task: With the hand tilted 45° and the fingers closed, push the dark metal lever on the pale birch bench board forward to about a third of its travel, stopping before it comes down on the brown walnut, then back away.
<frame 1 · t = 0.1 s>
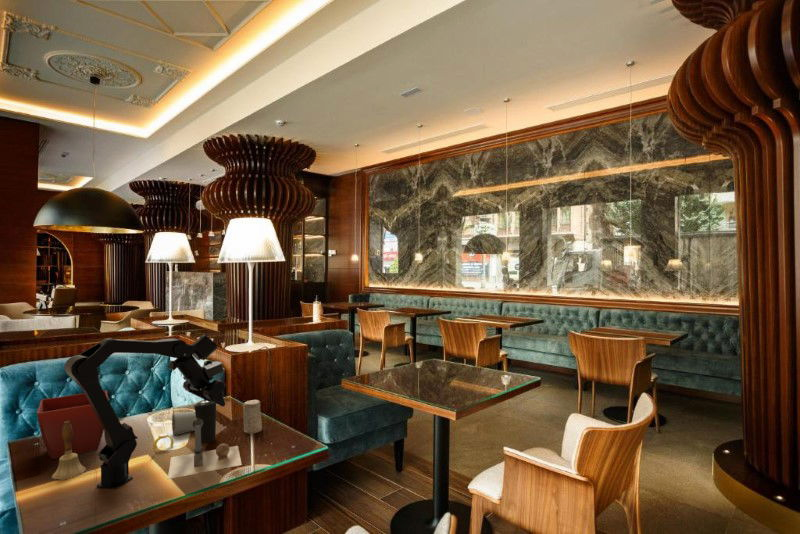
hand: (217, 403, 151), 15 cm above the table, tool tilted 35°, fingers open, 9 cm apart
hand bell: (69, 474, 134), on the table
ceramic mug: (183, 432, 167), on the table
lever: (197, 437, 136), point 9 cm above the table, hinge at 0.0°
plant pot: (75, 449, 152), on the table
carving: (252, 434, 162), on the table
drinking cup: (208, 443, 153), on the table, touching gripper
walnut: (222, 457, 139), point 1 cm above the table, touching bench board
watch: (163, 452, 148), on the table
bench board: (205, 465, 137), on the table
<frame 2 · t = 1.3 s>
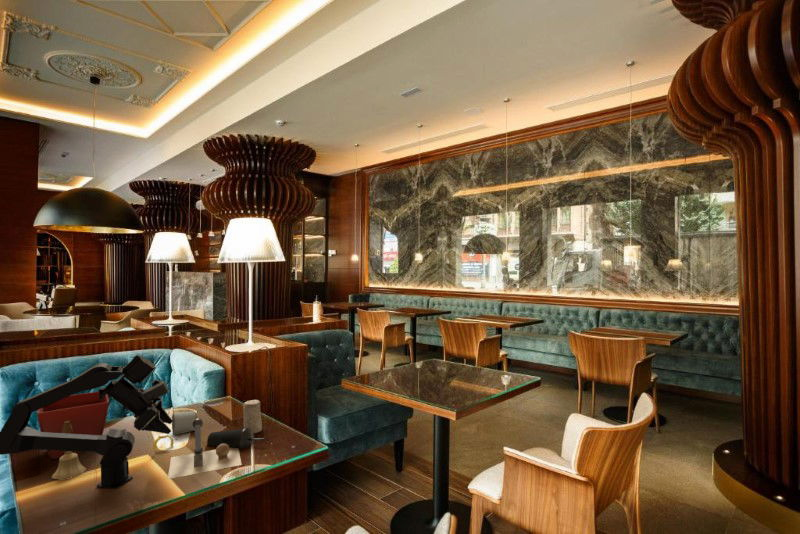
hand: (170, 427, 133), 14 cm above the table, tool tilted 45°, fingers open, 9 cm apart
drinking cup: (211, 439, 152), point 2 cm above the table, touching bench board
everything else where it was.
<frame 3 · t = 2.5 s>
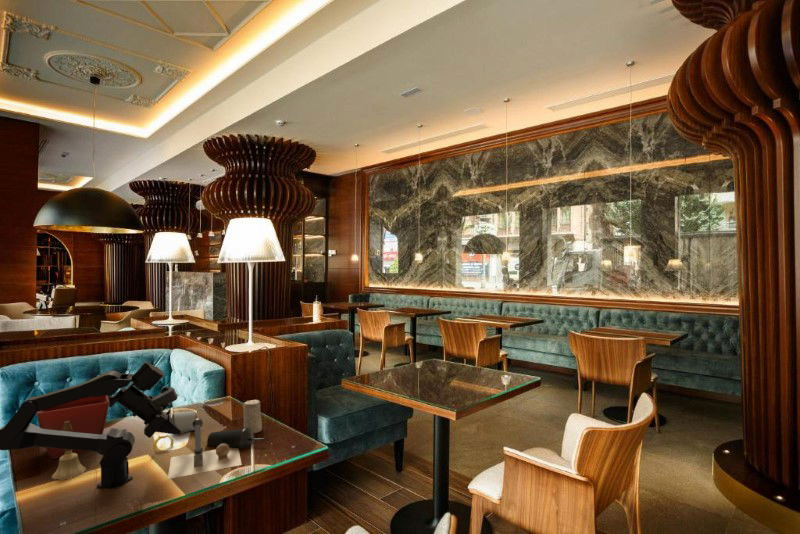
hand: (180, 433, 134), 11 cm above the table, tool tilted 45°, fingers closed
nothing on the table moved.
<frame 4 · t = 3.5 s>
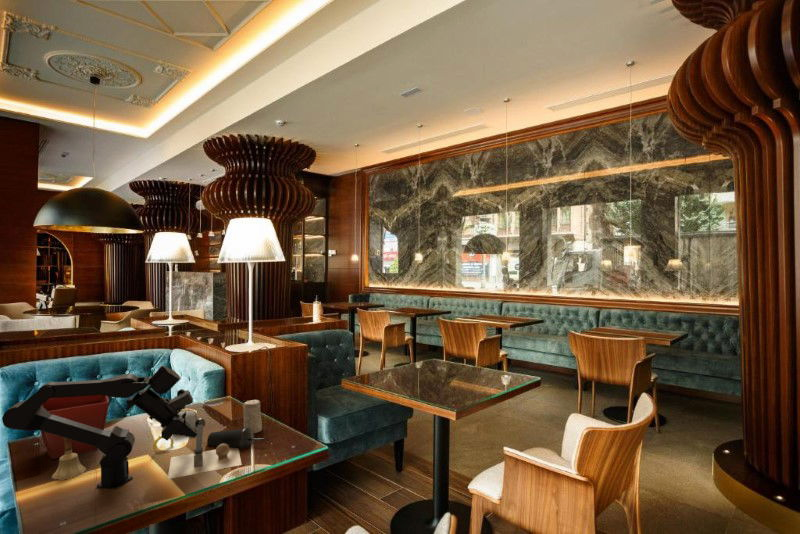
hand: (196, 436, 136), 10 cm above the table, tool tilted 45°, fingers closed, pressing on lever
lever: (199, 437, 136), point 9 cm above the table, hinge at 4.5°, touching gripper
everything else where it was.
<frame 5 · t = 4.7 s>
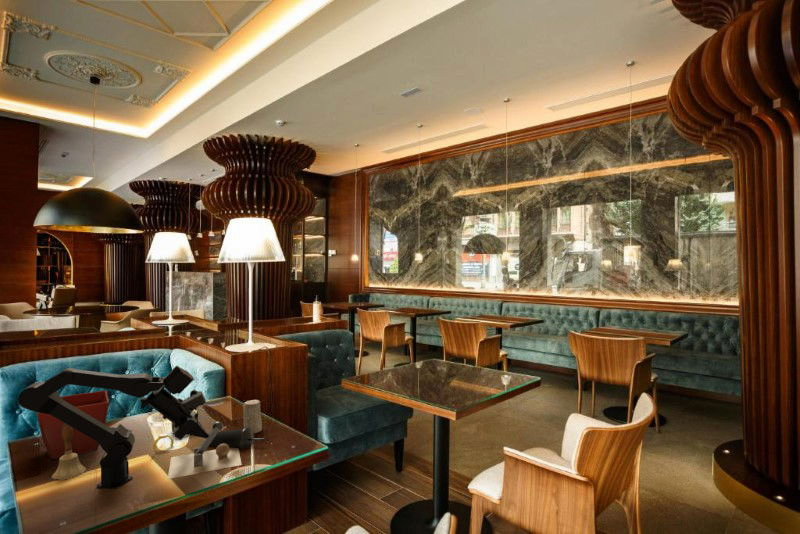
hand: (207, 436, 137), 9 cm above the table, tool tilted 45°, fingers closed, pressing on lever
lever: (208, 439, 137), point 8 cm above the table, hinge at 36.7°, touching gripper
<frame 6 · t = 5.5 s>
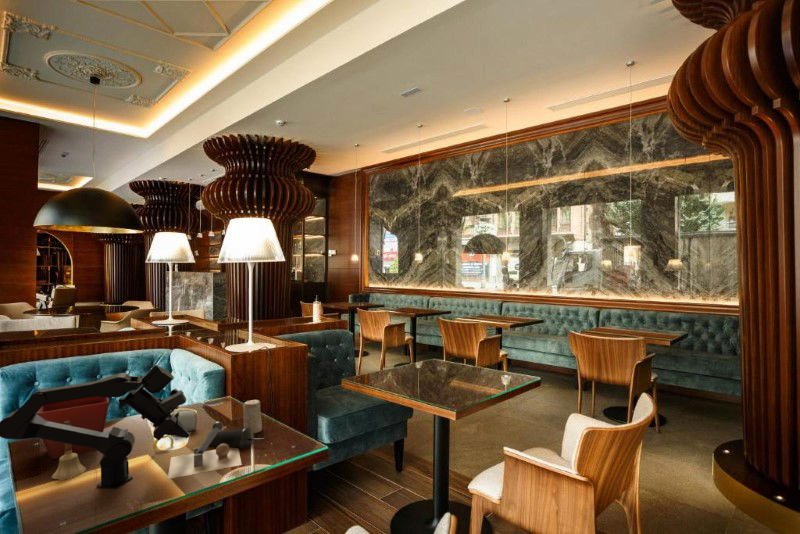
hand: (188, 436, 135), 10 cm above the table, tool tilted 45°, fingers closed
lever: (208, 439, 137), point 8 cm above the table, hinge at 36.8°
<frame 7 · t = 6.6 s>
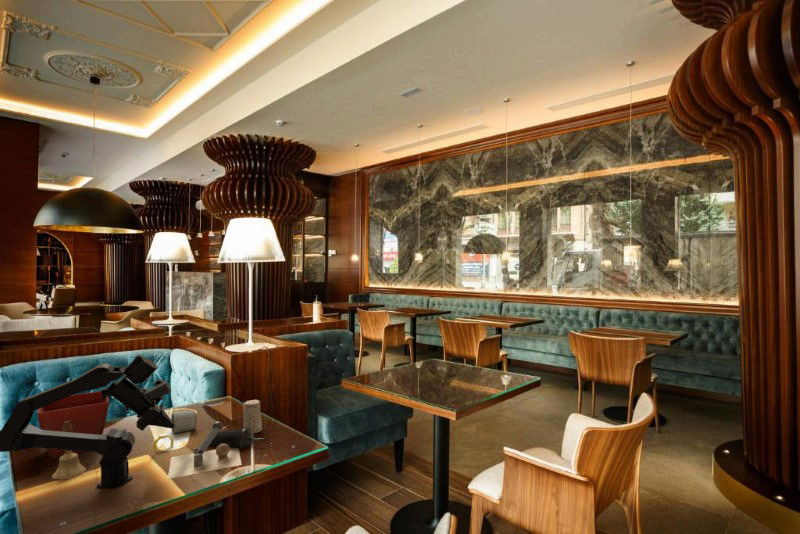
hand: (173, 426, 133), 14 cm above the table, tool tilted 45°, fingers closed
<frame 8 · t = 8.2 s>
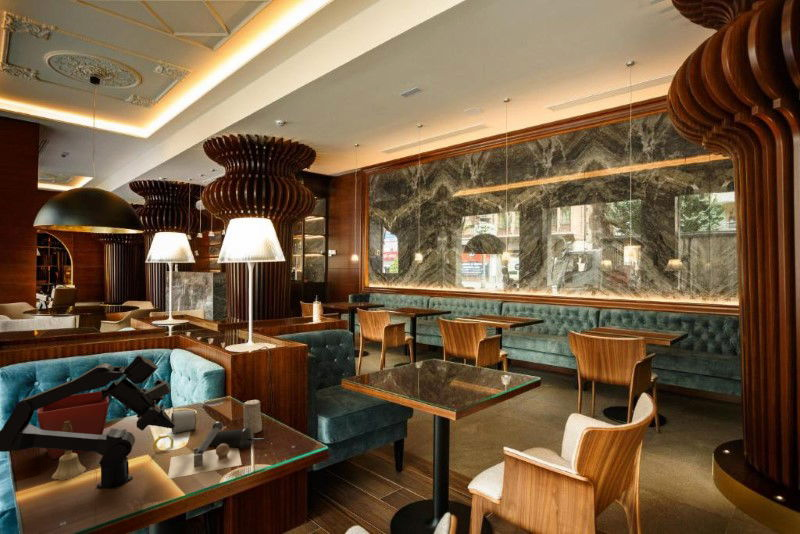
hand: (173, 426, 133), 14 cm above the table, tool tilted 45°, fingers closed
at the end: lever at +37° (first picture: +0°); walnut moved 0.0 cm from its start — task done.
